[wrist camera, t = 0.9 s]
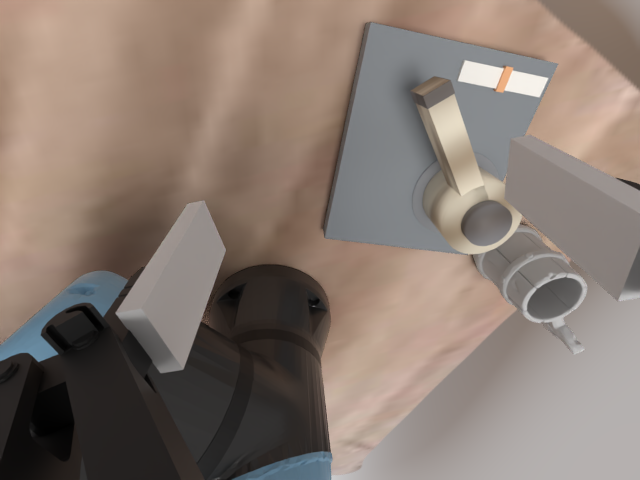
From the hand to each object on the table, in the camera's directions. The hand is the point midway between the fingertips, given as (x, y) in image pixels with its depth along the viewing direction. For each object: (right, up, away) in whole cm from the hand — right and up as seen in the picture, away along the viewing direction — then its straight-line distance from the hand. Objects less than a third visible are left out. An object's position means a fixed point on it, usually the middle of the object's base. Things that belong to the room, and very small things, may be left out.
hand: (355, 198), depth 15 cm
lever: (+10, +6, +18) cm, 21 cm away
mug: (+22, -4, +28) cm, 35 cm away
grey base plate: (+9, +7, +20) cm, 23 cm away
